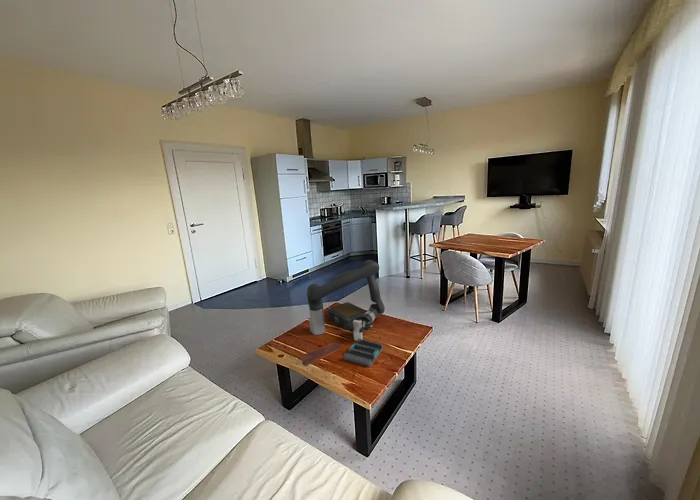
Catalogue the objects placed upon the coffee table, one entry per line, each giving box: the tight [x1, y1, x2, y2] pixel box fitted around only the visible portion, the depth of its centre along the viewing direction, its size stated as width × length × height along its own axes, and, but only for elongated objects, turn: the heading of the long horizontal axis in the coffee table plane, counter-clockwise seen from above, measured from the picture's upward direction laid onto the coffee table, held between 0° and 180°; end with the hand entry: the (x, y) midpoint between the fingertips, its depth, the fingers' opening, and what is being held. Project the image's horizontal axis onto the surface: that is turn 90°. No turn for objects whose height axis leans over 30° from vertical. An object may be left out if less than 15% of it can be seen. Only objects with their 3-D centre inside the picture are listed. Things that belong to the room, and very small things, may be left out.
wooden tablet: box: [298, 342, 343, 366], centre depth 169 cm, size 27×10×2 cm, turn 127°
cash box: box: [327, 301, 368, 330], centre depth 208 cm, size 25×20×8 cm
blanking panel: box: [352, 320, 364, 342], centre depth 179 cm, size 5×2×13 cm, turn 61°
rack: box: [343, 338, 384, 368], centre depth 165 cm, size 16×18×4 cm
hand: (355, 330), depth 177 cm, fingers closed on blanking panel, 5 cm apart
